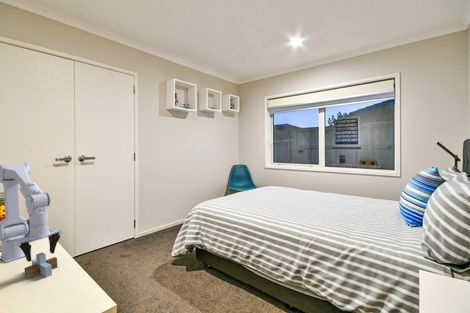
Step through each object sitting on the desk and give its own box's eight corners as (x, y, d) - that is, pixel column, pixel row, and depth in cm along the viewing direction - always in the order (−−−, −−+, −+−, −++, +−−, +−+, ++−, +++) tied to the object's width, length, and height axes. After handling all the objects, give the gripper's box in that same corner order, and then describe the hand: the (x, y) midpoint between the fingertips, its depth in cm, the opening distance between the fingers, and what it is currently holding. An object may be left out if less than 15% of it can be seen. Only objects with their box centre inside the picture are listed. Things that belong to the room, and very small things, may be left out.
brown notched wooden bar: (25, 277, 90) (24, 267, 90) (55, 266, 98) (54, 256, 98) (27, 279, 89) (26, 269, 89) (57, 267, 97) (57, 257, 97)
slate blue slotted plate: (32, 269, 96) (31, 252, 95) (38, 267, 97) (37, 250, 97) (45, 277, 90) (44, 258, 90) (51, 274, 92) (50, 256, 91)
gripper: (19, 231, 84) (21, 267, 85) (64, 219, 97) (66, 251, 98) (12, 228, 88) (14, 262, 89) (56, 217, 101) (58, 248, 101)
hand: (41, 256), depth 93 cm, fingers open, 7 cm apart
